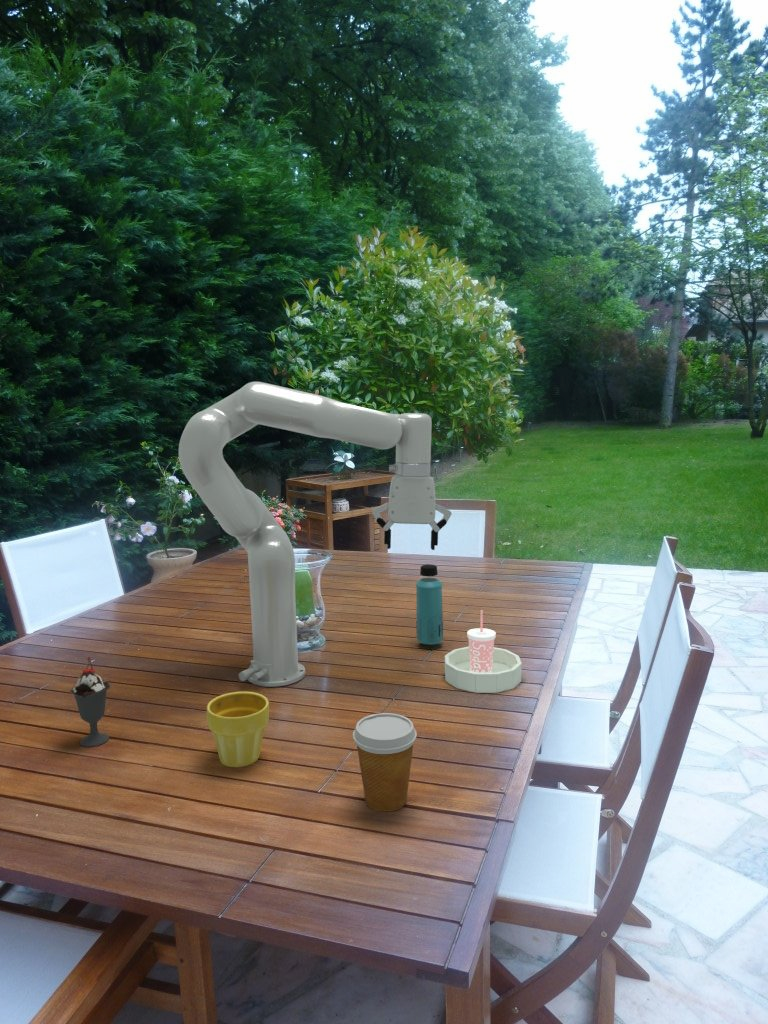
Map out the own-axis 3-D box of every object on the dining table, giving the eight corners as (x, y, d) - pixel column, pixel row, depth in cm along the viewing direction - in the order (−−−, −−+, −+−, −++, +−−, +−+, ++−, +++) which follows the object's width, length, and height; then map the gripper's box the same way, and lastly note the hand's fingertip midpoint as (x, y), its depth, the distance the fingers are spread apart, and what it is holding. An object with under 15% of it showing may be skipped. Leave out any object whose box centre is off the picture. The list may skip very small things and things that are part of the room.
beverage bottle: (441, 651, 168) (441, 569, 165) (413, 649, 170) (413, 568, 166) (444, 641, 175) (444, 562, 171) (418, 640, 176) (417, 561, 173)
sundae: (102, 728, 132) (95, 651, 130) (121, 738, 128) (115, 659, 126) (67, 741, 127) (59, 662, 125) (86, 753, 123) (79, 671, 121)
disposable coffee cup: (415, 781, 112) (414, 710, 110) (419, 817, 103) (419, 740, 101) (354, 783, 112) (352, 712, 110) (354, 819, 103) (352, 742, 101)
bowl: (502, 698, 142) (502, 680, 141) (431, 682, 150) (431, 664, 150) (531, 671, 155) (531, 654, 155) (465, 658, 164) (465, 641, 163)
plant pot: (283, 751, 123) (281, 698, 121) (243, 779, 114) (240, 722, 112) (238, 737, 128) (235, 686, 126) (196, 763, 119) (192, 708, 117)
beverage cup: (461, 673, 153) (461, 610, 150) (478, 664, 157) (478, 604, 155) (484, 680, 148) (484, 616, 146) (501, 672, 153) (502, 609, 150)
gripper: (372, 471, 150) (370, 550, 153) (454, 473, 150) (451, 552, 153) (373, 468, 158) (372, 543, 160) (451, 469, 157) (448, 545, 160)
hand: (410, 548), depth 156 cm, fingers open, 9 cm apart
